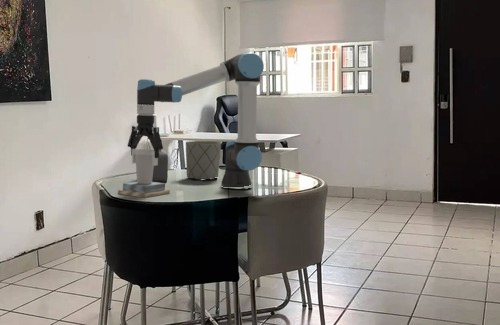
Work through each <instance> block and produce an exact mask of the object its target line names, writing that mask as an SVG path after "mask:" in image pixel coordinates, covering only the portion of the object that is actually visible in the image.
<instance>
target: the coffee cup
mask: <svg viewBox="0 0 500 325" xmlns="http://www.w3.org/2000/svg"><path fill="white" fill-rule="evenodd" d="M135 149H136V152H135V153H134V154H135V158H136V163H135V167H136V168H135V169H136V170H135V171H136V182H137V183H138V184H152V177H153V168H154V166H152V156H153V150H154V149H153V148H151V149H149V148H148V149H147V148H146V149H145V148H135Z"/></svg>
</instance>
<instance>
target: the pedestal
mask: <svg viewBox="0 0 500 325" xmlns="http://www.w3.org/2000/svg"><path fill="white" fill-rule="evenodd" d="M117 194H119V195H124V196H132V197H139V198H145V199H146V198H152V197H159V196H164V195H169V194H170V190H169V189H166V182H152V184H138V183H137V181H133V182H132V181H131V182H124V183H123V184H122V189H118V190H117Z"/></svg>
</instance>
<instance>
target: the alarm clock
mask: <svg viewBox="0 0 500 325" xmlns="http://www.w3.org/2000/svg"><path fill="white" fill-rule="evenodd" d="M168 170H169V156H168V154H167V153H166V152H164V151H159V158H158V165H156V166H154V168H153V177H152V182H157V183H166V182H168V178H169V177H168Z"/></svg>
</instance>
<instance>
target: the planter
mask: <svg viewBox="0 0 500 325" xmlns="http://www.w3.org/2000/svg"><path fill="white" fill-rule="evenodd" d="M221 149H222V142H218V141H206V140H205V141H203V140H195V141H194V140H192V141H190V140H189V141H185V160H186V162H185V164H186V177H189V178H188V179H193V178H194V179H195V180H200V179H210V178H215V177H218V178H219V172H220V170H219V169H220V163H221V162H220V160H221V152H222V151H221ZM194 179H193V180H194ZM210 180H211V179H210Z"/></svg>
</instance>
